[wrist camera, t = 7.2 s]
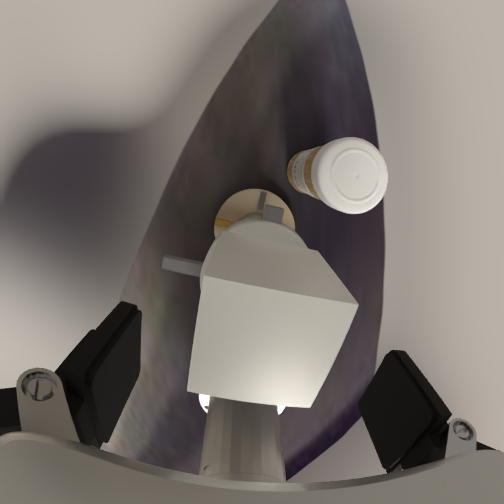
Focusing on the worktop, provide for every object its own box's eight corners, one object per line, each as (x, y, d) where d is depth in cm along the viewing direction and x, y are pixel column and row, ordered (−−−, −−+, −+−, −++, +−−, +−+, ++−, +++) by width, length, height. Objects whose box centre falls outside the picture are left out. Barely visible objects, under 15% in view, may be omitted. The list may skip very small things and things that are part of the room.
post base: (281, 270, 30) (300, 330, 19) (209, 254, 30) (186, 308, 18) (301, 198, 28) (336, 220, 17) (224, 181, 27) (207, 190, 16)
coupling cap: (325, 217, 16) (392, 266, 8) (290, 330, 18) (312, 428, 10) (183, 186, 16) (119, 207, 7) (166, 306, 18) (120, 395, 10)
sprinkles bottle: (322, 198, 28) (378, 224, 15) (280, 186, 28) (308, 202, 15) (333, 157, 27) (398, 152, 14) (292, 144, 26) (329, 124, 14)
